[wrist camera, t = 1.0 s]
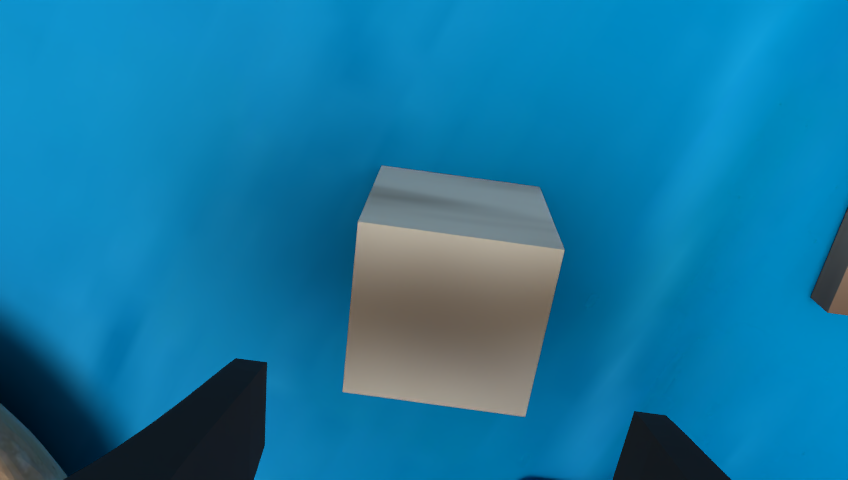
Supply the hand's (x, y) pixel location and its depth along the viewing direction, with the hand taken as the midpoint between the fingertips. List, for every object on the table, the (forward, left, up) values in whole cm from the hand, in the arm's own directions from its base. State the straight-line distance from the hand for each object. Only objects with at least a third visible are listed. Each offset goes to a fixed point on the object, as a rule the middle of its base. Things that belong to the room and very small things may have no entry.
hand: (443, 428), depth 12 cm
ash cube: (0, 0, -9) cm, 9 cm away
